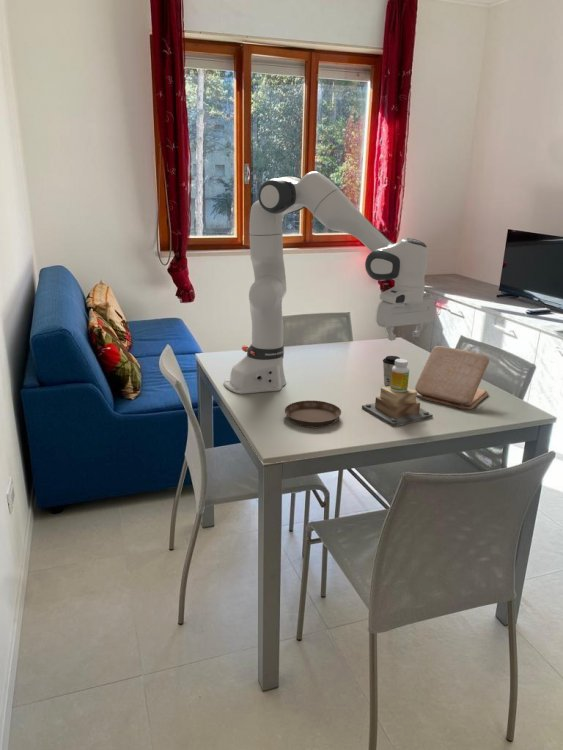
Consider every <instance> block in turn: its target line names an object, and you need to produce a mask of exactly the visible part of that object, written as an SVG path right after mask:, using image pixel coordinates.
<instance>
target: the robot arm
mask: <svg viewBox="0 0 563 750" xmlns="http://www.w3.org/2000/svg"><path fill="white" fill-rule="evenodd" d="M257 198H258V200H255V201H254V203H253V204H252V205H251V207H250V213H249V229H248V230H249V231H248V232H249V251H250V260H251V264H252V270H253V274H254V275H253V276H254V282H253V283H252V284H251V285H250V287H249V292H248V300H249V311H250V319H251V344H250V346H247V345H242V347H241V351H243V352H244V353H246V355H245V356H244V357H242V359H240V360H239V361H238V362H237V363H235V364H234V365H233V366H232V367H231V370H230V377H228V378H225V379H224V381H223V385H224V387H226V388H227V390H229V391H231V392H233V393H235V394H240V395H241V394H242V395H243V394H254V393H255V394H257V393H263V392H266V393H267V392H278V391H281V390H282V388H283V387H284V386H286V384H287V381H286V376H285V371H284V354H285V349H284V348H285V347H284V346H285V345H284V344H283V343H284V342H283V341H284V322H283V320H284V319H283V306H282V305H283V299H284V297H285V296H286V293H287V280H286V269H285V259H284V245H283V236H284V235H283V220H284V216H285V215H287V214H288V215H290V214H293V213H296V212H299V211H301V210H303V209H305V208H306V209H308V211H309V212H310V213H311V214H312V215H313V216H314V217H315V219H317V221H318V222H319V223H320V224H322V225H323V226H324V227H326V228H327V229H329V230H331V231H335V232H340V233H344V234H347V235H351V236H353V237H355V239H357V240H359V242H361V243H362V244H363V245H364V246H365V247H366V248H367V249H368V250H369V252H370V253H369V254H368V255H367V257H366V259H365V263H364V267H365V271H366V273H367V275H368V276H369V277H370V278H371V279H373V280H376V281H388V280H394V286H393V287H391V288H389V289H386V290H384V291H382V292H381V293H380V294H379V299H380V301H379V303H378V307H377V310H376V319H375V321H376V324H377V326H378V327H382V328H385V329H386V332H387V334H388V336H387V338H388V340H389V341H396V339H397V335H396V334H394V330H395V327H401V326H409V325H411V326H412V325H415V326H416V327H415V328H414V330H412V332H411V333H412V334H411V337H413V338H419V337H420V333H421V332H422V330H423V328H424V325H425V324H429V323H432V322H433V321H434V320H435V296H434V294H433V293H432V292H425V288H426V287H425V286H426V281H425V277H426V274H427V269H428V260H429V259H428V257H429V256H428V255H429V254H428V251H429V250H428V246H427V245H426V244H425V242H422V241H421V240H419V239H416V238H409V237H405V238H403V239H401V240H400V241H398V242H396V243H395V242H393V241H392V240H390V239H389V238H388V237H386V236H385V235H384V234H383V232H381V231H380V230H379V229H378V228H377V226H375V225H374V224H373V223H372V222H371V221H370V220H369V219H368V218H367V217H365V215H364V214H363V213H362V212H361V211H360V210H359V209H358V208H357V207H356V206H355V205H354V204H353V202H352V201H351V200H350V199H349V198H348V197H347V195H346V194H345V193H344V192H343V191H342V190H341V189H340V187H338V186H337V185H336V184H335V183H334V181H331V180H330V179H329V178H328V176H327V177H326V176H325V175H324V174H323V173H321V172H319V171H313V170H312V171H309V172H307V173H306V174H305V175H303V176H302V177H299V176H288V175H287V176H282V177H278V178H277V177H274V178H273V177H272V178H270V179H268V180H266V181H264V182H263V183H262V184H261V186H260V187H259V190H258V195H257Z"/></svg>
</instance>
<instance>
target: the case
mask: <svg viewBox="0 0 563 750" xmlns="http://www.w3.org/2000/svg"><path fill="white" fill-rule="evenodd" d="M489 363H490V358H489V356H487V355H485V354H483V353H477V352H473V351H469V350H465V349H461V348H460V349H459V348H452V347H448V346H443V345H437V346H434V348H432V350H431V352H430V354H429V356H428V358H427V360H426V362H425V365H424V366H423V369H422V370H421V373H420V375H419V378H418V380H417V382H416V384H415V388H414V389H415V391H416V392H417V396H416V398H419V399H424V400H426V401H427V400H428V401H430V402H435V403H438V404H442V405H446V406H449V407H455V408H457V409H462V410H472V409H474V408H475V407H476V406H477V405H478V404H480V402H481V401H483V400H484V399H485V398H487V397H488V395H489V392H488V391H487V389H486V390H485V389H483V388H481V387H480V384H481V382H482V379H483V377H484V375H485V373H486V370H487V367H488V365H489Z"/></svg>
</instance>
